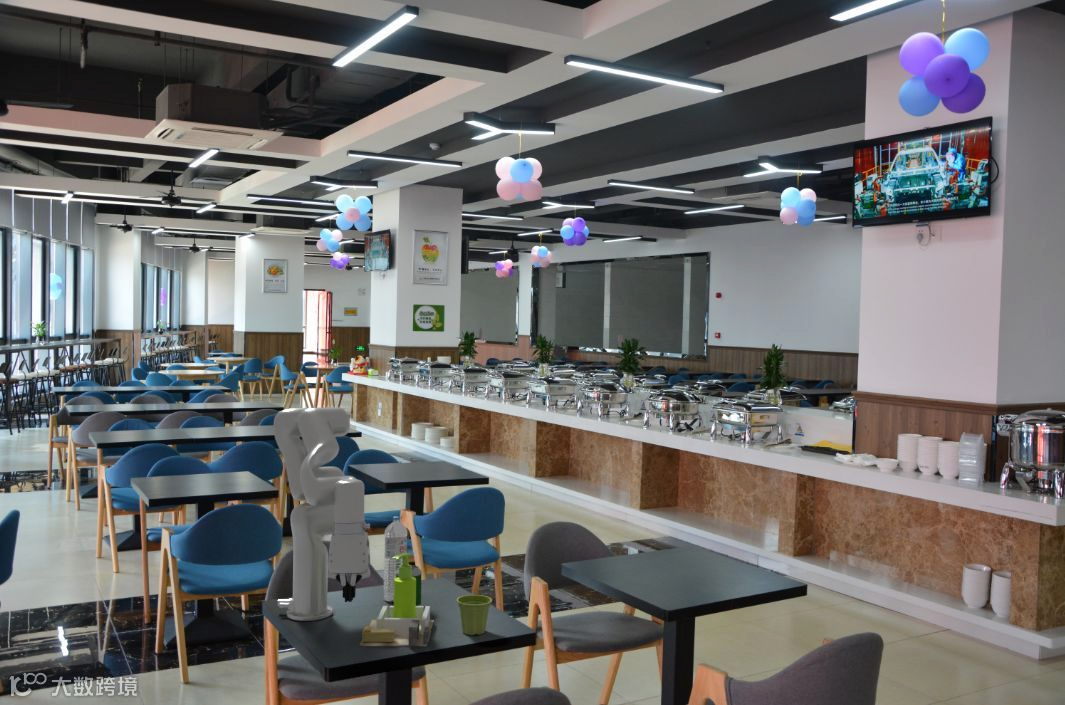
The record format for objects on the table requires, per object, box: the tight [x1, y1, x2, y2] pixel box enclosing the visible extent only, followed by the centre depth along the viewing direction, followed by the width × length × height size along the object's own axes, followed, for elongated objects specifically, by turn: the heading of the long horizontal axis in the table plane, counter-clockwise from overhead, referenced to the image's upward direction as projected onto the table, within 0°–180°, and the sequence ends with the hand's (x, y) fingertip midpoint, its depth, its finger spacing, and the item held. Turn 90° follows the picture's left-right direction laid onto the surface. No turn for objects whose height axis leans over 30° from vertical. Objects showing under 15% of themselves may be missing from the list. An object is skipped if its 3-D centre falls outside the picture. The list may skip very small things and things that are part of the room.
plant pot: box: [456, 594, 493, 636], centre depth 227 cm, size 9×9×9 cm
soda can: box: [395, 564, 423, 606], centre depth 246 cm, size 8×8×12 cm
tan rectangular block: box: [361, 625, 395, 642], centre depth 216 cm, size 8×2×3 cm, turn 92°
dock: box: [376, 605, 431, 635], centre depth 228 cm, size 13×12×4 cm
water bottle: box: [383, 516, 408, 603], centre depth 255 cm, size 7×7×25 cm
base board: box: [359, 619, 435, 647], centre depth 224 cm, size 17×21×5 cm
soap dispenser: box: [393, 552, 416, 618], centre depth 227 cm, size 6×7×20 cm
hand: (349, 600), depth 216 cm, fingers closed
